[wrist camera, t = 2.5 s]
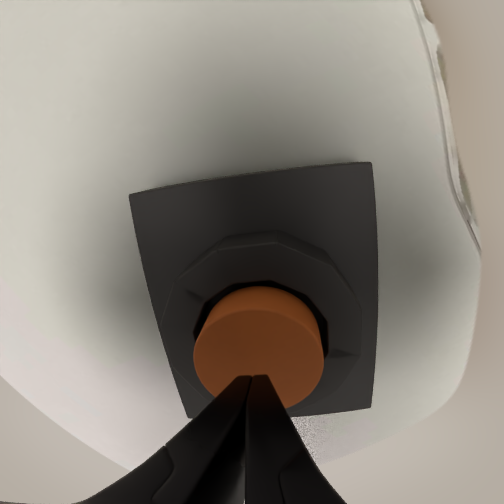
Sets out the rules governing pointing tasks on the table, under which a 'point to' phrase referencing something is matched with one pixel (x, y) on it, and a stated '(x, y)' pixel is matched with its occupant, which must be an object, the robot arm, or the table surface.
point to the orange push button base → (268, 266)
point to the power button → (261, 343)
